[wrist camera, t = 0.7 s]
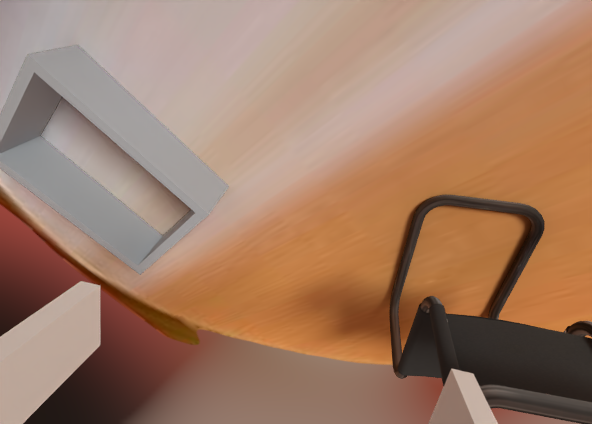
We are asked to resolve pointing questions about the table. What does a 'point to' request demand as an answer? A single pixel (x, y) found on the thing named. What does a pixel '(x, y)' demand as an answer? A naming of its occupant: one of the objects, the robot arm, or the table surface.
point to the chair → (496, 338)
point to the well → (118, 127)
